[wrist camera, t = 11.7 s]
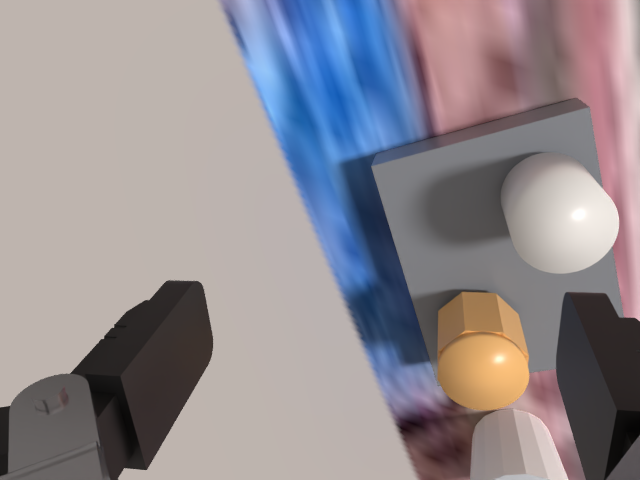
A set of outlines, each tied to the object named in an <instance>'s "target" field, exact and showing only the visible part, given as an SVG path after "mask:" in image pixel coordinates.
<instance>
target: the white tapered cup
mask: <svg viewBox="0 0 640 480" xmlns="http://www.w3.org/2000/svg"><path fill="white" fill-rule="evenodd" d="M470 480H568V478H567V475H566V472H565V470H564V467H563V465H562V462H561V460H560V457H559V455H558V452H557V450H556V447H555V445H554V442H553V440H552V437H551V435H550V432H549V430H548V428H547V427H546V426H545V424H544V423H543V422H542V421H541V419H539V418H537V417H536V416H534V415H532V414H531V413H529V412H526V411H521V410H516V409H505V410H497V411H495V412H492V413H490V414H488V415H486V416H484V417H483V418H482V419H481V420H480V421H479V422H478V423H477V424H476V426H475V429H474V433H473V436H472V454H471V472H470Z"/></svg>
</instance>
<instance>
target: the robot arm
mask: <svg viewBox="0 0 640 480" xmlns="http://www.w3.org/2000/svg"><path fill="white" fill-rule="evenodd" d="M212 351H213V336H212V330H211V325H210V320H209V314H208V309H207V304H206V298H205V294H204V289H203V286H202V284H201V283H200V282H198V281H170V280H169V281H166V282H165V283H164V284H163V285H162V286H161V288H160V289H159V290H158V291H157V292H156V293H155V294H154V296H153V297H152V298H151V299H150V300H145V301H143V302H142V303H140V304H138V305H137V306H135V307H134V308H132V309H130V310H129V311H127V312H126V313H125V314H124V315H123V316H122V317H121V319H120V320H119V321H118V322H117V323H116V324H115V325H114V328H111V329H110V331H109V332H108V333H107V334H106V335H105V336H104V339H101V340H100V341H99V343H98V344H97V345H96V346H95V347H94V348H93V349H92V351H90V353H89V354H88V355H87V356H86V357H85V358H84V359H83V360H82V361H81V362H80V364H79V365H78V366H77V367H76V368H75V369H74V370H73V371H72V372H71V373H70V374H59V375H54V376H51V377H47V378H44V379H42V380H40V381H38V382H35V383H33V384H32V385H30V386H28V387H27V388H25V389H24V390H23V391H22V392H20V393H19V394H18V395H17V397H15V399H14V400H13V402H12V403H11V406H8V407H1V408H0V480H118V477H119V475H120V474H121V472H122V471H123V469H124V468H130V469H140V470H147V469H148V467H149V465H150V464H151V462H152V460H153V458H154V456H155V455H156V453H157V451H158V450H159V448H160V446H161V445H162V443H163V441H164V440H165V438H166V436H167V434H168V433H169V431H170V429H171V427H172V426H173V424H174V422H175V421H176V419H177V417H178V415H179V414H180V412H181V410H182V409H183V407H184V405H185V403H186V402H187V400H188V398H189V397H190V395H191V393H192V391H193V390H194V388H195V386H196V385H197V383H198V381H199V379H200V377H201V376H202V374H203V373H204V371H205V369H206V367H207V366H208V364H209V362H210V359H211V356H212ZM556 373H557V381H558V385H559V389H560V392H561V396H562V399H563V402H564V406H565V409H566V413H567V416H568V420H569V423H570V426H571V430H572V433H573V437H574V440H575V444H576V447H577V450H578V454H579V457H580V461H581V464H582V468H583V471H584V474H585V478H586V480H640V321H638V320H637V319H636V318H621V317H619V316H618V314H617V312H616V310H615V309H614V307H613V305H612V303H611V301H610V299H609V297H608V295H607V294H606V293H593V292H566V293H565V295H564V298H563V303H562V311H561V319H560V328H559V336H558V344H557V353H556Z"/></svg>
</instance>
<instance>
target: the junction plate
mask: <svg viewBox="0 0 640 480" xmlns="http://www.w3.org/2000/svg"><path fill="white" fill-rule="evenodd" d="M371 168H372V171H373V174H374V178H375V181H376V184H377V187H378V191H379V194H380V197H381V201H382V204H383V207H384V210H385V214H386V217H387V220H388V224H389V227H390V230H391V233H392V237H393V240H394V243H395V247H396V250H397V253H398V256H399V260H400V263H401V266H402V270H403V273H404V276H405V279H406V283H407V286H408V289H409V293H410V296H411V299H412V302H413V306H414V309H415V312H416V316H417V319H418V322H419V325H420V329H421V332H422V335H423V339H424V342H425V345H426V348H427V352H428V355H429V358H430V362H431V365H432V368H433V371H434V375H435V378H436V381H437V385H438V386H441V385H440V382H439V381H438V380H437V369H438V311H439V310H440V309H441V308H442V307H444V306H445V305H446V304H448V303H449V302H450V301H451V300H453V299H454V298H455V297H456V296H458V295H459V294H460V293H461V292H479V293H496V294H497V295H498V296H500V297H501V298H502V299H503V300H504V301H505V302H506V303H507V304H508V305H509V306H510V307H511V308H512V309H513V310H515V311H516V312H517V313H518V314H519V318H520V322H521V326H522V330H523V334H524V338H525V342H526V346H527V350H528V354H529V360H528V369H529V373H532V372H539V371H545V370H552V369H556V353H557V344H558V336H559V328H560V319H561V311H562V303H563V298H564V295H565V293H566V292H593V293H606V294H607V295H608V297H609V299H610V301H611V303H612V305H613V307H614V309H615V310H616V312H617V314H618V316H619V317H621V318H624V315H623V309H622V302H621V296H620V290H619V284H618V278H617V272H616V266H615V260H614V254H613V248H612V246H613V244H614V242H615V240H616V237H617V234H618V230H619V216H618V212H617V209H616V206H615V204H614V203H613V201H612V199H611V198H610V197H609V196H608V195H607V193H606V192H605V191H604V190H603V186H602V180H601V174H600V168H599V162H598V156H597V150H596V144H595V138H594V132H593V125H592V119H591V113H590V107H589V106H587V105H586V104H585V103H583V102H582V101H581V100H579V99H578V98H574V99H570V100H567V101H563V102H560V103H556V104H552V105H549V106H545V107H542V108H538V109H534V110H531V111H527V112H524V113H520V114H516V115H513V116H509V117H506V118H502V119H498V120H495V121H491V122H488V123H484V124H480V125H477V126H473V127H470V128H466V129H462V130H459V131H455V132H452V133H448V134H444V135H441V136H437V137H433V138H430V139H426V140H423V141H419V142H415V143H412V144H408V145H405V146H401V147H397V148H394V149H390V150H387V151H383V152H379V153H376V155H375V158H374V160H373V163H372V165H371Z"/></svg>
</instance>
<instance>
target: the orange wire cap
mask: <svg viewBox="0 0 640 480" xmlns="http://www.w3.org/2000/svg"><path fill="white" fill-rule="evenodd" d="M528 360H529V354H528V350H527V346H526V342H525V338H524V334H523V330H522V326H521V322H520V318H519V314H518V313H517V312H516V311H515V310H513V309H512V308H511V307H510V306H509V305H508V304H507V303H506V302H505V301H504V300H503V299H502V298H501V297H500V296H498V295H497V294H496V293H479V292H461V293H460V294H459V295H458V296H456V297H455V298H454V299H453V300H451V301H450V302H449V303H448V304H446V305H445V306H444V307H442V308H441V309H440V310H439V311H438V369H437V380H438V381H439V382H440V385H441V387H442V389H443V390H444V392H445V393H446V394H447V395H448V396H449V397H450V398H451V399H452V400H453V401H455V402H457V403H458V404H460V405H462V406H465V407H467V408H471V409H476V410H494V409H499V408H502V407H505V406H507V405H509V404H511V403H513V402H514V401H516V400H517V399H518V398H519V397H520V396H521V395H522V394H523V392H524V391H525V389H526V387H527V384H528V381H529V369H528Z"/></svg>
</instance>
